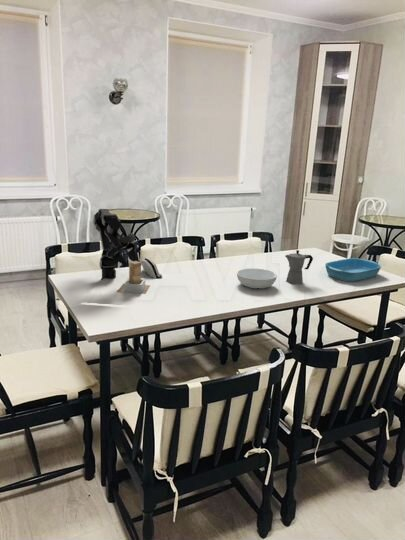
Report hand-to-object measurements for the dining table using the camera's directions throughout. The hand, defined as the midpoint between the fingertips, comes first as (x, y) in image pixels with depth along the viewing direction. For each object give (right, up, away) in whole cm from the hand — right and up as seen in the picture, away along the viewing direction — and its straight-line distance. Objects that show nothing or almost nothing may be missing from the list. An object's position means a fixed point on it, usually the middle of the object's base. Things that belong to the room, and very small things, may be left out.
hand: (132, 263), depth 216 cm
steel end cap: (+1, -13, 0) cm, 13 cm away
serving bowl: (+63, -12, +19) cm, 67 cm away
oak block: (+1, -12, 0) cm, 12 cm away
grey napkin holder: (+5, -6, +30) cm, 31 cm away
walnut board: (0, -13, +2) cm, 13 cm away
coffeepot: (+86, -10, +29) cm, 92 cm away
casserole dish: (+123, -7, +47) cm, 132 cm away
